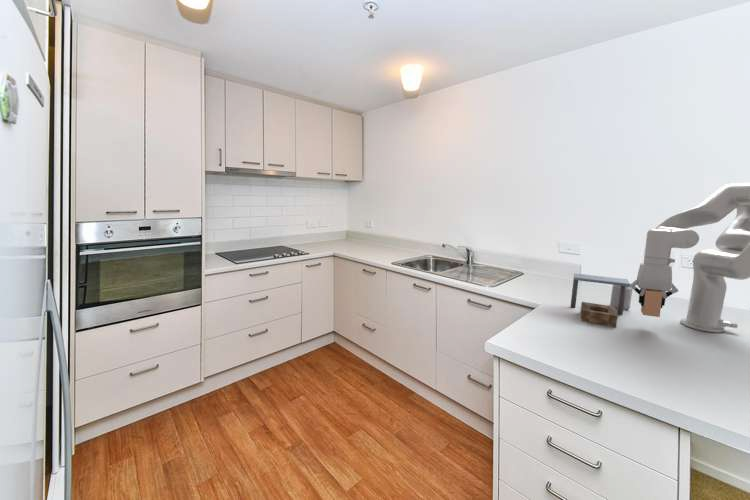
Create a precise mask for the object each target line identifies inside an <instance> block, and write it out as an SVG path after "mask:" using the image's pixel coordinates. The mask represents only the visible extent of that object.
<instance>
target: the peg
mask: <svg viewBox="0 0 750 500" xmlns="http://www.w3.org/2000/svg"><path fill="white" fill-rule="evenodd" d="M662 295H663V292H662V291H658V290H648V289H646V290H645V293H644V297H645V298H644V306H641V305H640V306H641V308H640V311H641V314H642V315H643V316H646V317H655V318H660V317H661V309H662V308H661V302H662Z"/></svg>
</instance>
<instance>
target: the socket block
mask: <svg viewBox="0 0 750 500" xmlns="http://www.w3.org/2000/svg"><path fill="white" fill-rule="evenodd" d="M618 317H619V315H618V314H617V309H615V307H614V306H611V305H606V304H601V303H600V304H599V303H593V302H586V301H581V304H580V322H582V323H586V324H587V323H588V324H594V325H600V326H604V327H611V328H617V323H618Z"/></svg>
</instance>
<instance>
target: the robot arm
mask: <svg viewBox="0 0 750 500" xmlns="http://www.w3.org/2000/svg"><path fill="white" fill-rule="evenodd" d="M735 210H736V216H735V218H734V219H733V221H732V222H731V223H730V224H729V225H728V226H727V227H726V228H725V229H724V230H723V231H722V233H721V234H720V235H719V236H718V237H717V239H716V240H715V247H716V248H717V249H718V250H717V249H703V250H700V251H698V252H696V253H695V255H694V256H693V259H692V269H693V276H692V277H693V278H692V285H691V290H690V295H689V296H690V297H689V302H688V306H687V312H686V317H684V318H681V319H680V323H681V324H682V325H683V326H685V327H688V328H691V329H693V330H698V331H700V332H701V331H702V332H706V333H707V332H709V333H718V334H719V333H723V332H724V331H725V328H726V327H727V328H732V329H737V328H738V326H739V325H738V323H737V322H731V321H729V320H724V319H723V318H722V313H723V309H724V303H725V298H726V297H725V296H726V293H727V282H726V280H725V278H729V279H733V280H738V281H739V280H740V281H742V280H748V279H749V278H750V182H748V183H747V182H741V183H740V182H739V183H729V184H725V185H723V186H722V187H720V188H719V189H718V190H715V192H714V193H712V194H711V195H710V196H709V197H707V198H706V199H705V200H703V201H702V202H701V203H700V204H699V205H697V206H694V207H693V208H690V209H687V210H684V211H682V212H681V211H680V212H679V213H676V214H674V215H672V216H670V217H668V218H666V219H665V220H664V221H663V222H661V223H660V224H658V225H657V226H656V227H655V228H651V229H649V230H648V231H647V232H646V239H645V240H646V241H645V247H644V258H643V262H641V263H640V264H639V268H638V271H637V277H636V280H634V281H632V283H630V287H631V288H632V290H634V291H635V292H636V293H637V294H638V304H640V306H644V298H645V297H644V293H645V290H646V289H648V290H658V291H662V292H663V295H662V302H661V309H663V307H664V306H665V303H666V299H667V298H668V297H670V296H672V295H674V294H676V293H678V292H679V289H678V288H677V286H675V284H674V283H673V270H672V269H673V268H672V265H671V264H672V263H676V259H675V258H671V253H672V249H673V248H674V249H685V250H686V249H690V248H693V247H694V246H696V245H697V244H698V243H699V241H700V235H699V234H698V233H697V232H696V231H695V230H692V229H690V228H694V227H701V226H709V225H712V224H716V223H718V222H720V221H721V220H723V219H724V218H726V217H727V215H729V214H730V213H732V212H733V211H735Z"/></svg>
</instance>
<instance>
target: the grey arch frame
mask: <svg viewBox="0 0 750 500" xmlns="http://www.w3.org/2000/svg"><path fill="white" fill-rule="evenodd" d="M579 281H581V282H587V283H596V284H602V285H603V284H604V285H612V286H613V285H620V286H621V288H620V296H619V303H618V309H616V312H617V315H618V316H623V315H624V310H623V308H624V301H625V294H626V287H627V286H628V287H630V284H631V283H630V281H629V280H628V279H627V278H619V277H611V276H602V275H601V276H600V275H592V274H582V273H576V272H575V273H573V280H572V289H571V290H572V292H571V300H570V305H569V306H570V308H571V309H575V308H576V306H577V297H578V296H577V295H578V288H579Z"/></svg>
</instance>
